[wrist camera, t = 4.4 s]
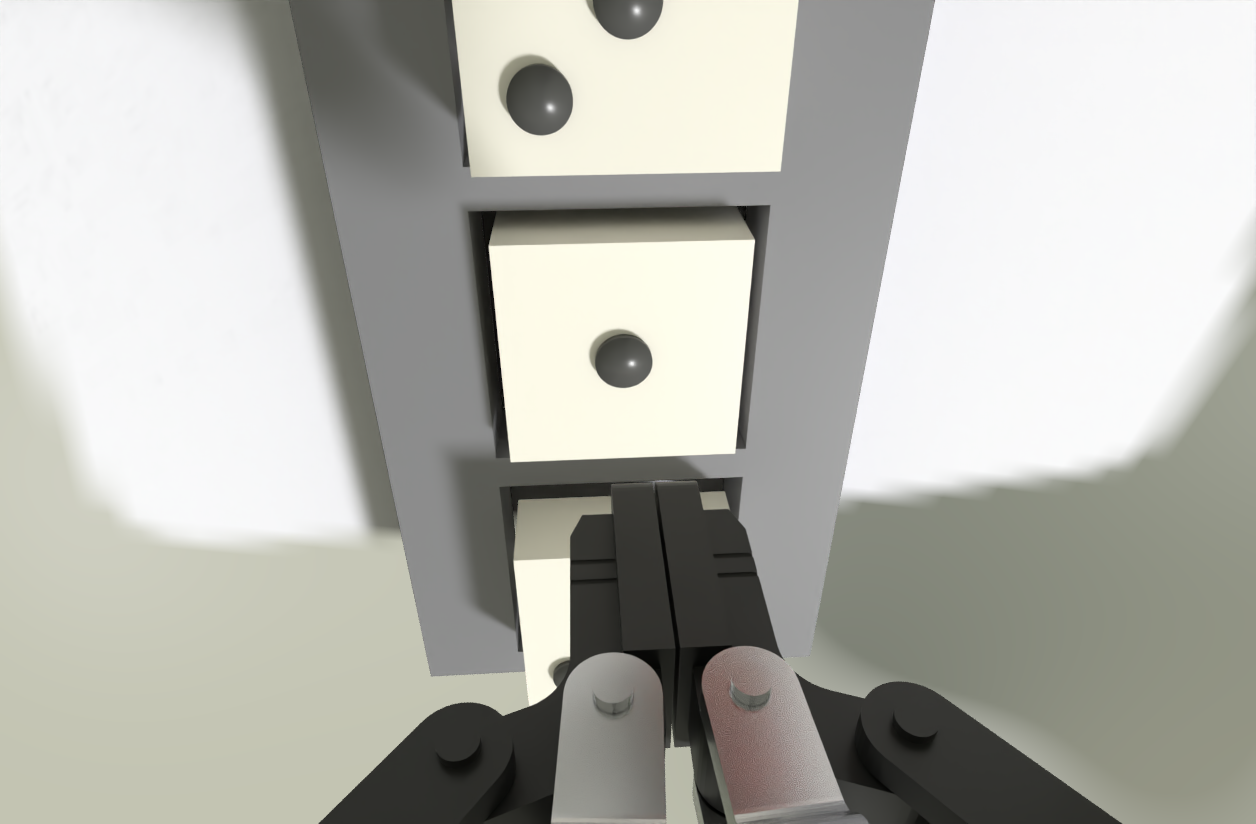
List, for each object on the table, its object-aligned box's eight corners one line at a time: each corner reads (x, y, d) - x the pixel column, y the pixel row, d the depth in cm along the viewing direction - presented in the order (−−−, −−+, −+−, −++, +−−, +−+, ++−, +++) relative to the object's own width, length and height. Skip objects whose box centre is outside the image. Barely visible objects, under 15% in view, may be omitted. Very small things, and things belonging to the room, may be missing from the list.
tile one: (735, 204, 20) (756, 242, 18) (719, 403, 23) (736, 458, 21) (496, 209, 19) (487, 249, 17) (515, 410, 23) (510, 466, 20)
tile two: (724, 490, 23) (742, 555, 21) (712, 631, 26) (726, 700, 24) (518, 499, 22) (512, 565, 20) (532, 640, 26) (528, 711, 24)
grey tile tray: (936, -283, 16) (994, -311, 13) (792, 602, 29) (809, 656, 27) (269, -292, 15) (220, -324, 13) (441, 619, 28) (430, 676, 26)
